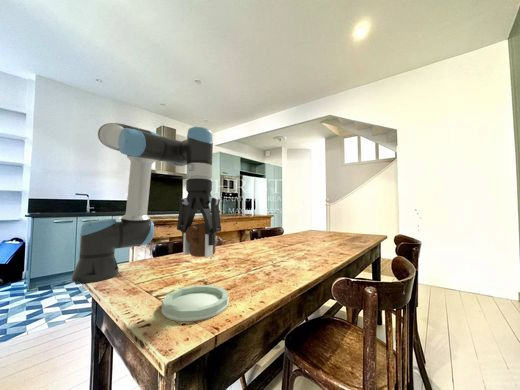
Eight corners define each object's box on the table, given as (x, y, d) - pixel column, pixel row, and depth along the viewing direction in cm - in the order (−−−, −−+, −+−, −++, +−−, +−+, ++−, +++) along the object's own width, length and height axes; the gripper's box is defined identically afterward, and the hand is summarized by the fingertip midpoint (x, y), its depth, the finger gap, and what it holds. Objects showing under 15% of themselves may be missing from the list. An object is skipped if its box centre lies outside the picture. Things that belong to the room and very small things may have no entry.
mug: (198, 261, 56) (199, 226, 57) (174, 259, 59) (175, 225, 59) (219, 252, 68) (220, 223, 69) (198, 251, 70) (199, 222, 71)
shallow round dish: (145, 312, 58) (146, 303, 58) (193, 288, 75) (193, 281, 75) (201, 328, 50) (201, 317, 50) (240, 298, 67) (240, 290, 67)
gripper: (165, 179, 66) (162, 254, 64) (220, 175, 57) (218, 261, 56) (183, 182, 72) (181, 250, 71) (234, 178, 64) (233, 255, 63)
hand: (197, 255), depth 63 cm, fingers closed on mug, 7 cm apart
